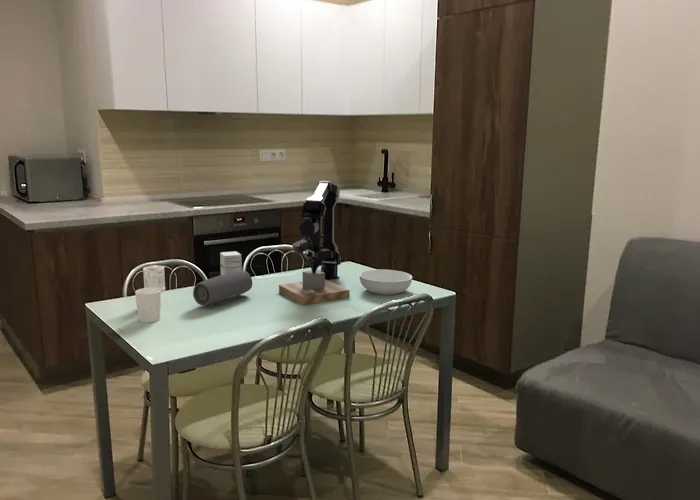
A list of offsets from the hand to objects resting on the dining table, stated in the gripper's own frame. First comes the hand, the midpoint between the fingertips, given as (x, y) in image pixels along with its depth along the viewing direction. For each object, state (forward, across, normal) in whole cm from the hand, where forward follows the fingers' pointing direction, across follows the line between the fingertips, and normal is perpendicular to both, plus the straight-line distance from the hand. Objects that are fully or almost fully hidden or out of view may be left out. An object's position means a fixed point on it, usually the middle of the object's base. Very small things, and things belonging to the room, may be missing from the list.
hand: (313, 272), depth 226 cm
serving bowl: (+9, +10, +27) cm, 30 cm away
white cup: (+9, -1, -62) cm, 63 cm away
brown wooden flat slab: (+9, 0, 0) cm, 9 cm away
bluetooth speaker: (+9, -9, -33) cm, 35 cm away
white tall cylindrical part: (+9, -16, -56) cm, 59 cm away
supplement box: (+9, -32, -21) cm, 39 cm away
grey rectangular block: (+8, 0, 0) cm, 9 cm away
